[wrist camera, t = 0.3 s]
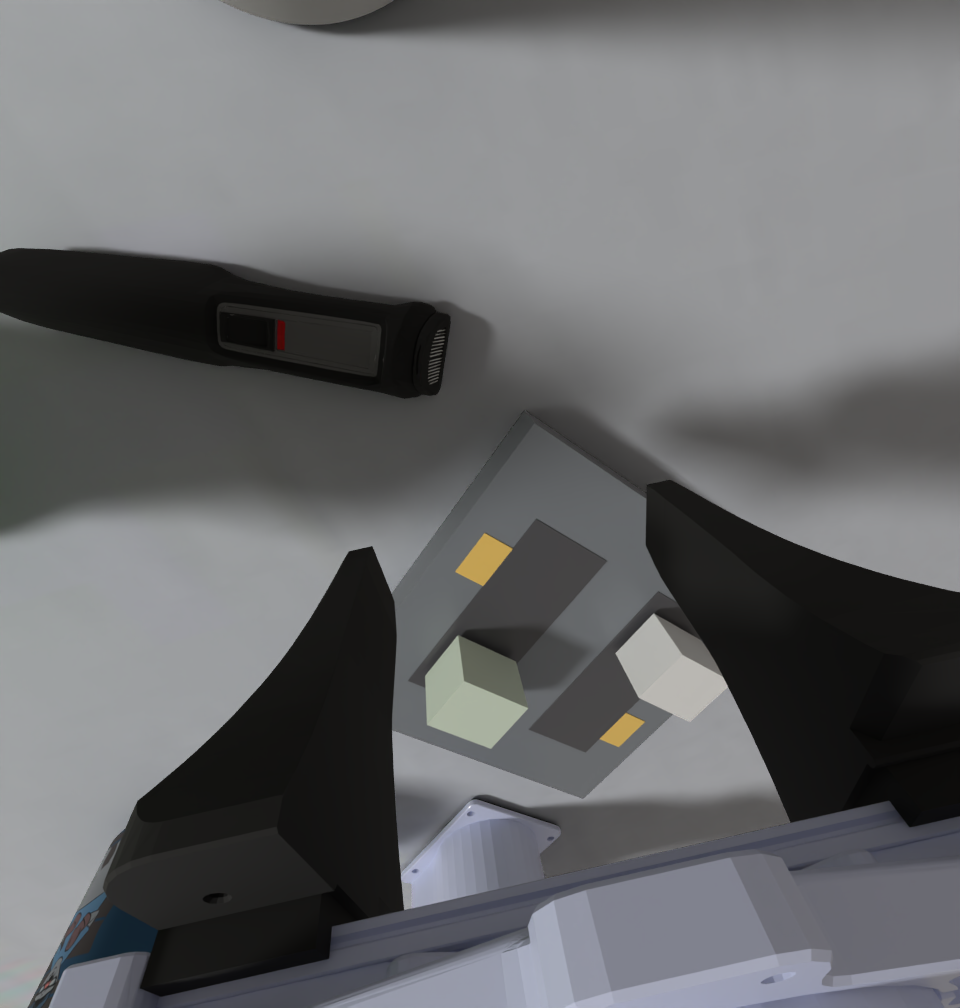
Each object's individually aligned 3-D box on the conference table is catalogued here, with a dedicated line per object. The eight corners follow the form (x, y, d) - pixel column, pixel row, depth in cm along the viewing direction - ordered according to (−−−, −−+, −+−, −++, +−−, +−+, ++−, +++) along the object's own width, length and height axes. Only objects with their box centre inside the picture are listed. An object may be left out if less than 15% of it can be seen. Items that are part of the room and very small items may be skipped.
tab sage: (482, 699, 27) (490, 748, 24) (425, 675, 25) (427, 724, 23) (515, 661, 26) (528, 708, 23) (458, 635, 24) (463, 681, 22)
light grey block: (662, 677, 28) (689, 722, 25) (615, 653, 26) (638, 697, 24) (700, 639, 27) (732, 682, 24) (653, 613, 25) (682, 655, 23)
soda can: (228, 870, 34) (145, 1151, 23) (114, 860, 32) (-33, 1162, 21) (249, 805, 31) (166, 1087, 21) (126, 791, 30) (-34, 1093, 19)
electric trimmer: (18, 219, 18) (-58, 211, 15) (453, 306, 20) (458, 314, 18) (37, 330, 19) (-29, 342, 16) (438, 396, 22) (441, 417, 19)
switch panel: (574, 770, 34) (583, 799, 32) (331, 677, 28) (325, 706, 26) (770, 578, 29) (795, 600, 27) (524, 410, 22) (534, 423, 21)
